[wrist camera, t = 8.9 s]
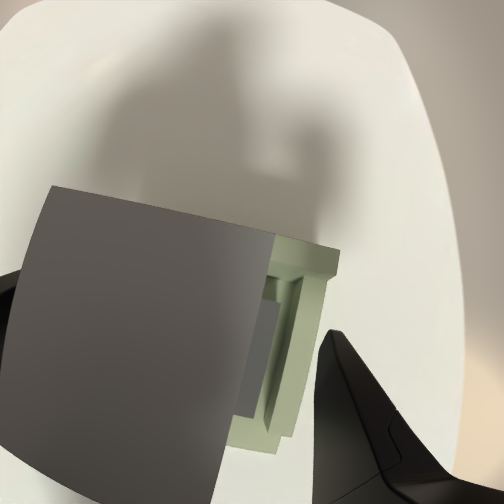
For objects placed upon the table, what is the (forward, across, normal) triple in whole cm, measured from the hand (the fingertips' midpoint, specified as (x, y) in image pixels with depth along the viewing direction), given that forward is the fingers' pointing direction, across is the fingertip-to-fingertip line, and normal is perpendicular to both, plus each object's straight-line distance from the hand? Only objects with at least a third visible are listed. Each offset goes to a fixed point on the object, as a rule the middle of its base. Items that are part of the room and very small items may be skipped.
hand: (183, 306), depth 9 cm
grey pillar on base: (+4, 0, +6) cm, 8 cm away
